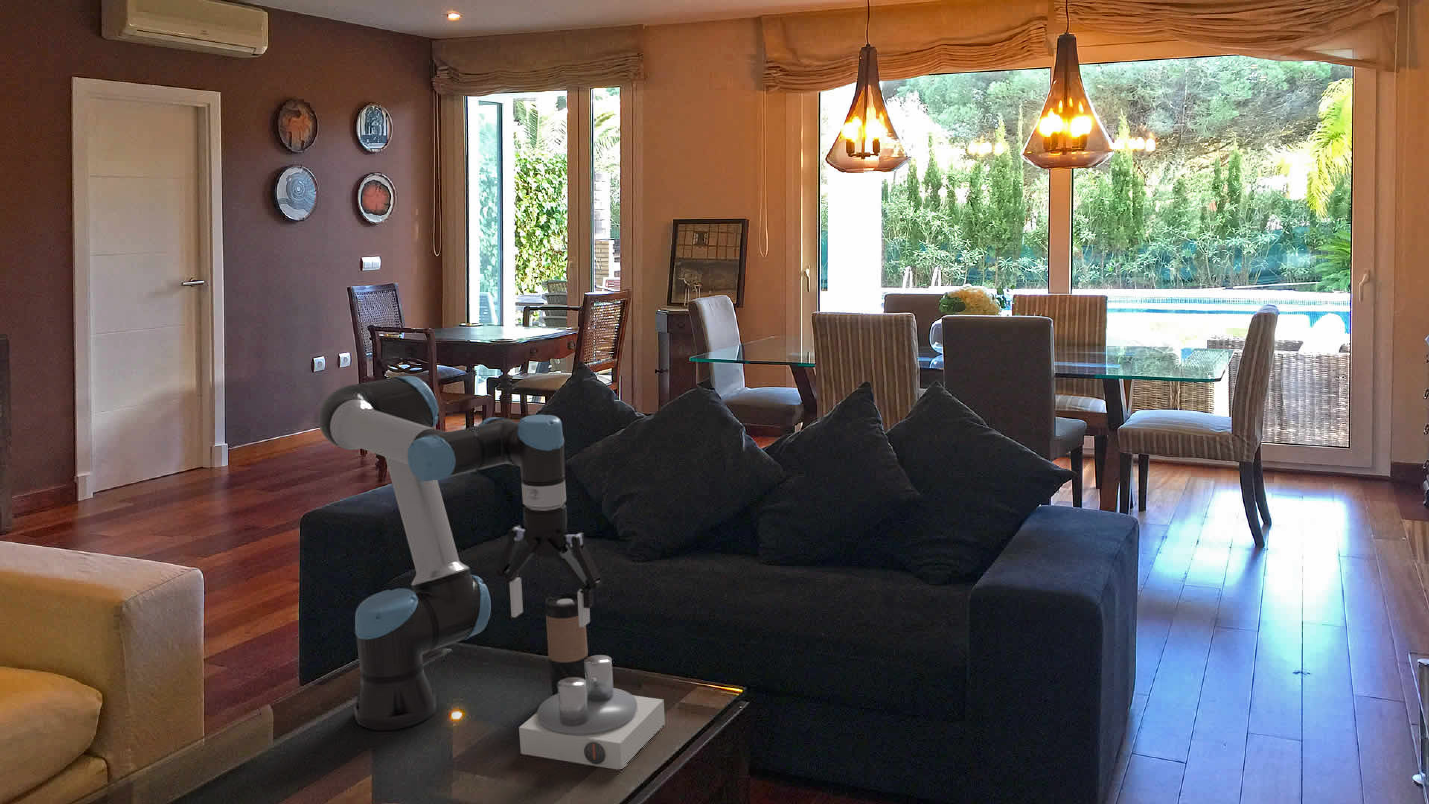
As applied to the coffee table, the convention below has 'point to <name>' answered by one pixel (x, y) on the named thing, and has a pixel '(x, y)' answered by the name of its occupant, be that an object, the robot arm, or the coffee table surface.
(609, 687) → the cylinder
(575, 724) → the cylinder
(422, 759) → the coffee table surface
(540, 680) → the coffee table surface
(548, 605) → the travel mug
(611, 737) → the scale
